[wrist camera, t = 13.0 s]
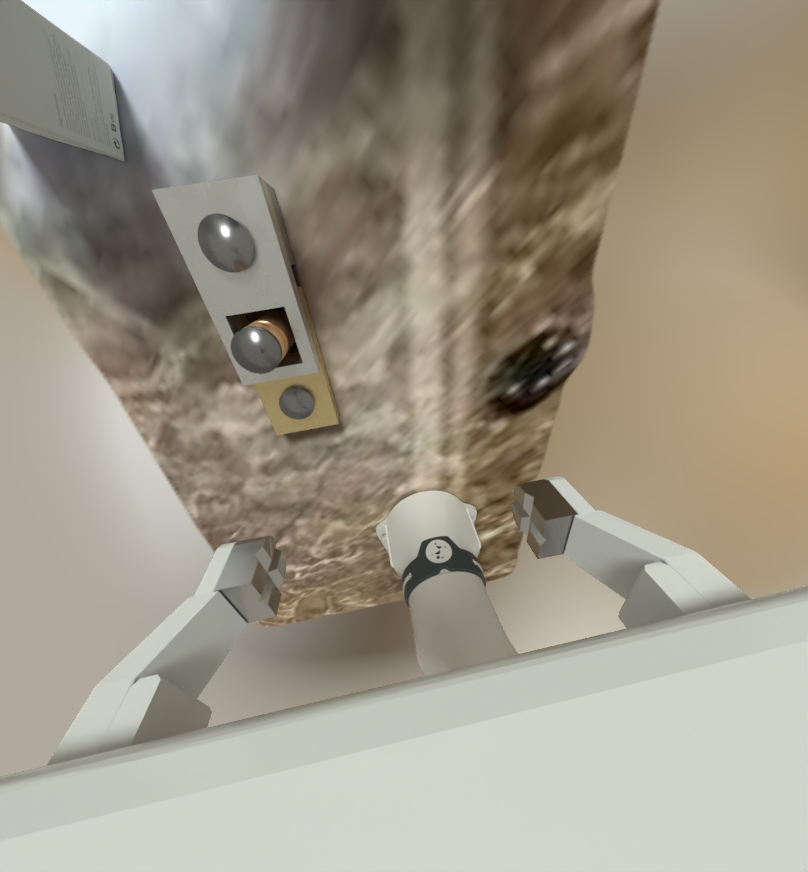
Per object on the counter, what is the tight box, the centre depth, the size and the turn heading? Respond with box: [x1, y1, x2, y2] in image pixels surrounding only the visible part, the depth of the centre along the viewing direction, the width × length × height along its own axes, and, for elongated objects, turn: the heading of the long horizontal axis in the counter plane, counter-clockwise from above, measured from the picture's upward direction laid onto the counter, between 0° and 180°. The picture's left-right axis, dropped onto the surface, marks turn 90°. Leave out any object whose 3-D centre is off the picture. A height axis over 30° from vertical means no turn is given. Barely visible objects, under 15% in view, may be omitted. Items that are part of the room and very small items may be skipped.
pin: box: [231, 312, 295, 374], centre depth 29 cm, size 4×4×9 cm
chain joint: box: [152, 175, 339, 435], centre depth 30 cm, size 24×8×6 cm, turn 8°
